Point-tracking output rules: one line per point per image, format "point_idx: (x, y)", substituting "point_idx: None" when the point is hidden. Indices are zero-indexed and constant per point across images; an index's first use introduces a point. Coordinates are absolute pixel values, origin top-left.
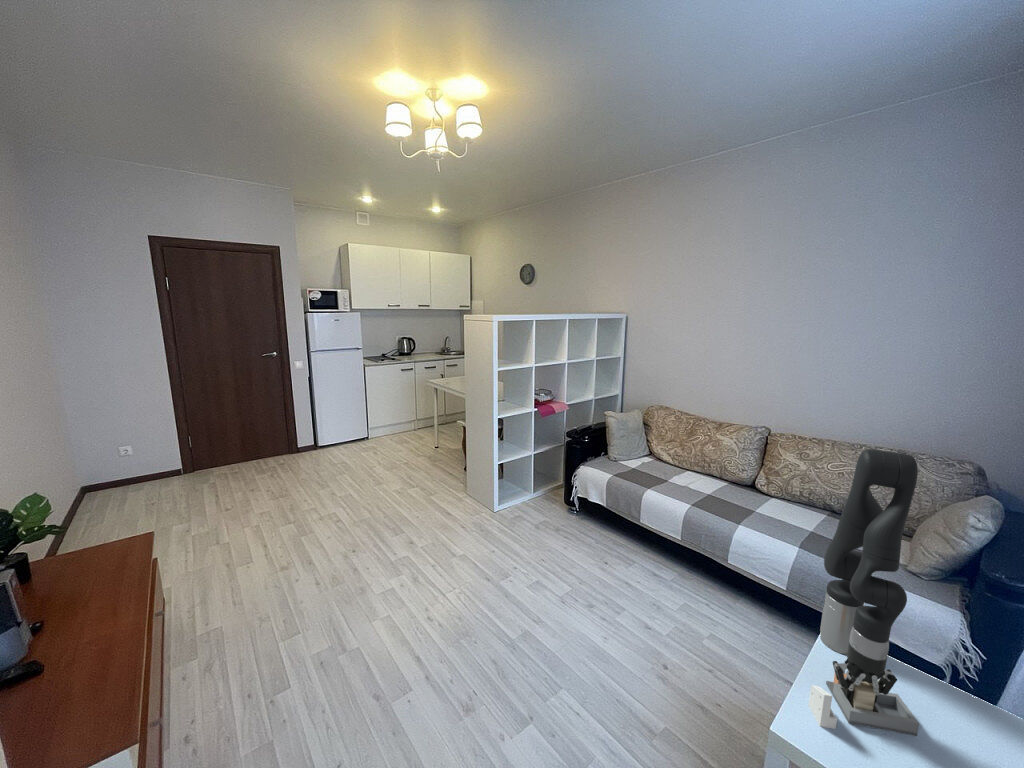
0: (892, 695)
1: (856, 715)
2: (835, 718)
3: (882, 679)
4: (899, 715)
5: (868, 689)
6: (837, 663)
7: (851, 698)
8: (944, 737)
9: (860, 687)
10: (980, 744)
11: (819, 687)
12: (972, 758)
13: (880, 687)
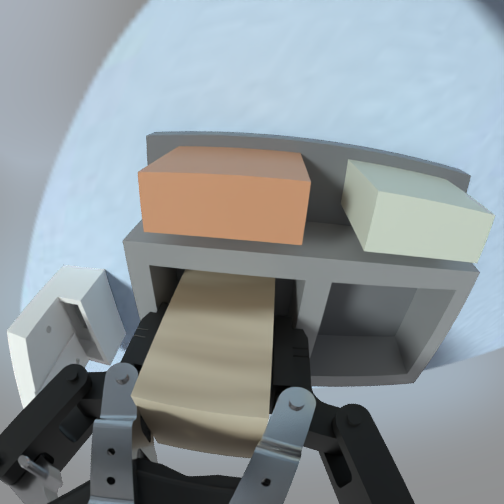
0: (448, 284)
1: None
2: (105, 363)
3: (354, 489)
4: (408, 297)
5: (227, 449)
6: (6, 483)
7: None
8: (472, 321)
9: (181, 439)
10: None
11: (25, 354)
12: (469, 356)
13: (326, 447)
